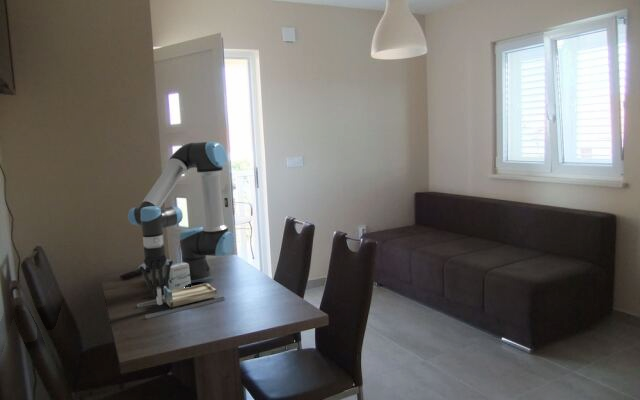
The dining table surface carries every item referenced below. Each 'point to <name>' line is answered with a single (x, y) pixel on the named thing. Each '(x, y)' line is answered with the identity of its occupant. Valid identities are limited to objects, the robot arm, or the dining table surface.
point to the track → (178, 307)
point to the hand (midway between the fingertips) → (159, 303)
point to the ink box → (179, 276)
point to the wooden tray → (188, 294)
